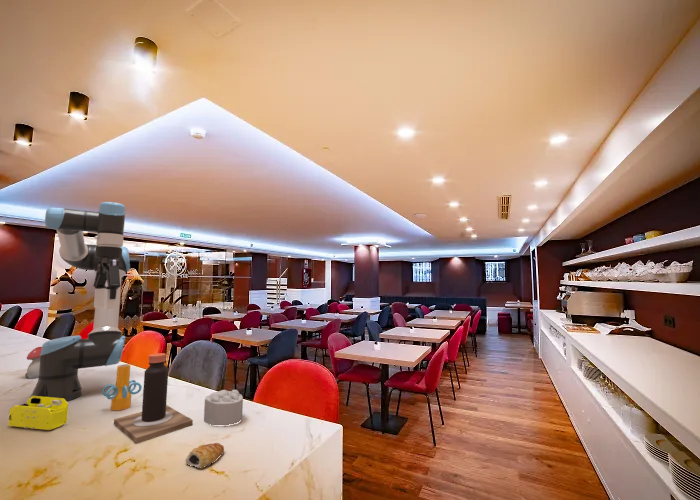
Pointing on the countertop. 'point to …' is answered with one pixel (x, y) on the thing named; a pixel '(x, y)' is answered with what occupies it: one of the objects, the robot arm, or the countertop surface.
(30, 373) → the decorative ornament
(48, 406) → the yellow toy chassis
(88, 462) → the countertop surface
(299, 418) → the countertop surface
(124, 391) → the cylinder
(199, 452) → the pastry
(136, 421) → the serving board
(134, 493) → the countertop surface
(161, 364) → the vinegar
